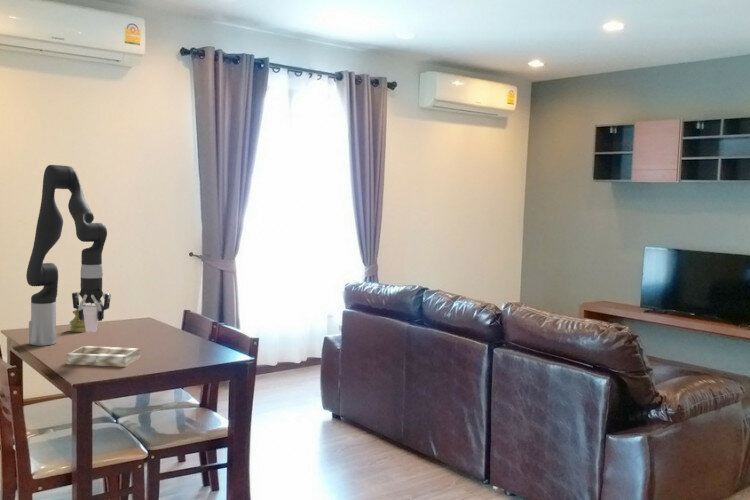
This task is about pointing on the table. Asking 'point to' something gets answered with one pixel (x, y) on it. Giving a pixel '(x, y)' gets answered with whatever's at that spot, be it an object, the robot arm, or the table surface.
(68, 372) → the table surface
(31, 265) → the robot arm
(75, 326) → the olive green stacked toy
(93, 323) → the smoothie
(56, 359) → the table surface
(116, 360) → the cream rectangular tray
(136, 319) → the table surface
